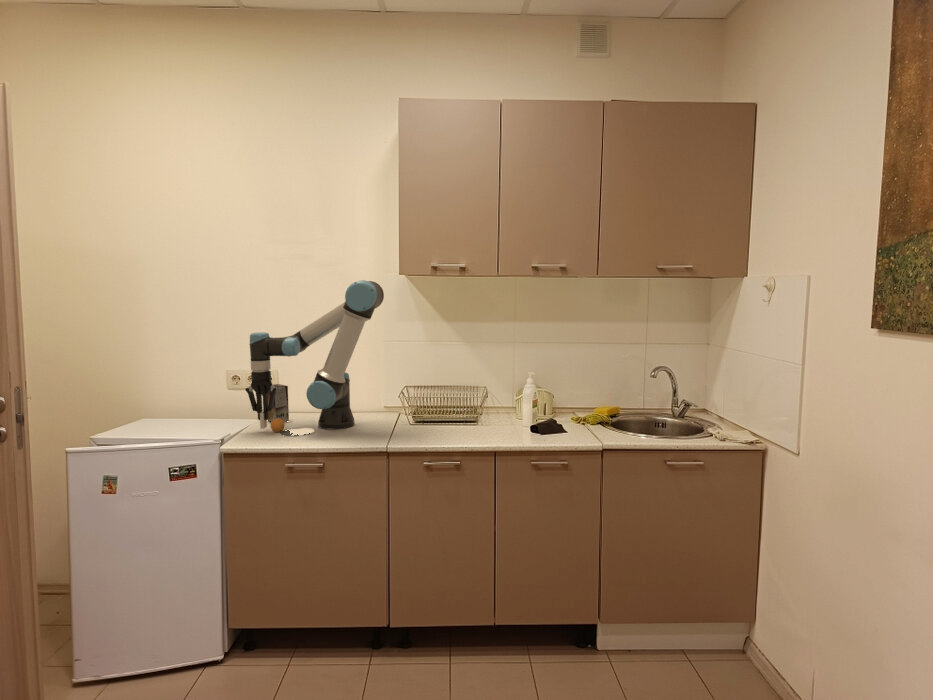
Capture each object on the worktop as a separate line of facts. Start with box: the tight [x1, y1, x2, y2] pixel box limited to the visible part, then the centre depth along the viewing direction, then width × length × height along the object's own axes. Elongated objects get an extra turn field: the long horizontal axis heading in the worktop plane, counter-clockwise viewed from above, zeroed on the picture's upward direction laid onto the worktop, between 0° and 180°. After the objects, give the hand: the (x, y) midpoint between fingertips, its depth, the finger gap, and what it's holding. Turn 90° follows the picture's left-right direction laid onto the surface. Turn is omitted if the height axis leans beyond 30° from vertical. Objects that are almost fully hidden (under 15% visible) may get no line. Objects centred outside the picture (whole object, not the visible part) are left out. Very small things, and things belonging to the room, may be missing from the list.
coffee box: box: [267, 383, 290, 423], centre depth 257 cm, size 9×6×16 cm
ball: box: [270, 419, 286, 433], centre depth 238 cm, size 6×6×6 cm
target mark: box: [279, 428, 311, 437], centre depth 238 cm, size 14×14×1 cm
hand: (263, 427), depth 238 cm, fingers closed
